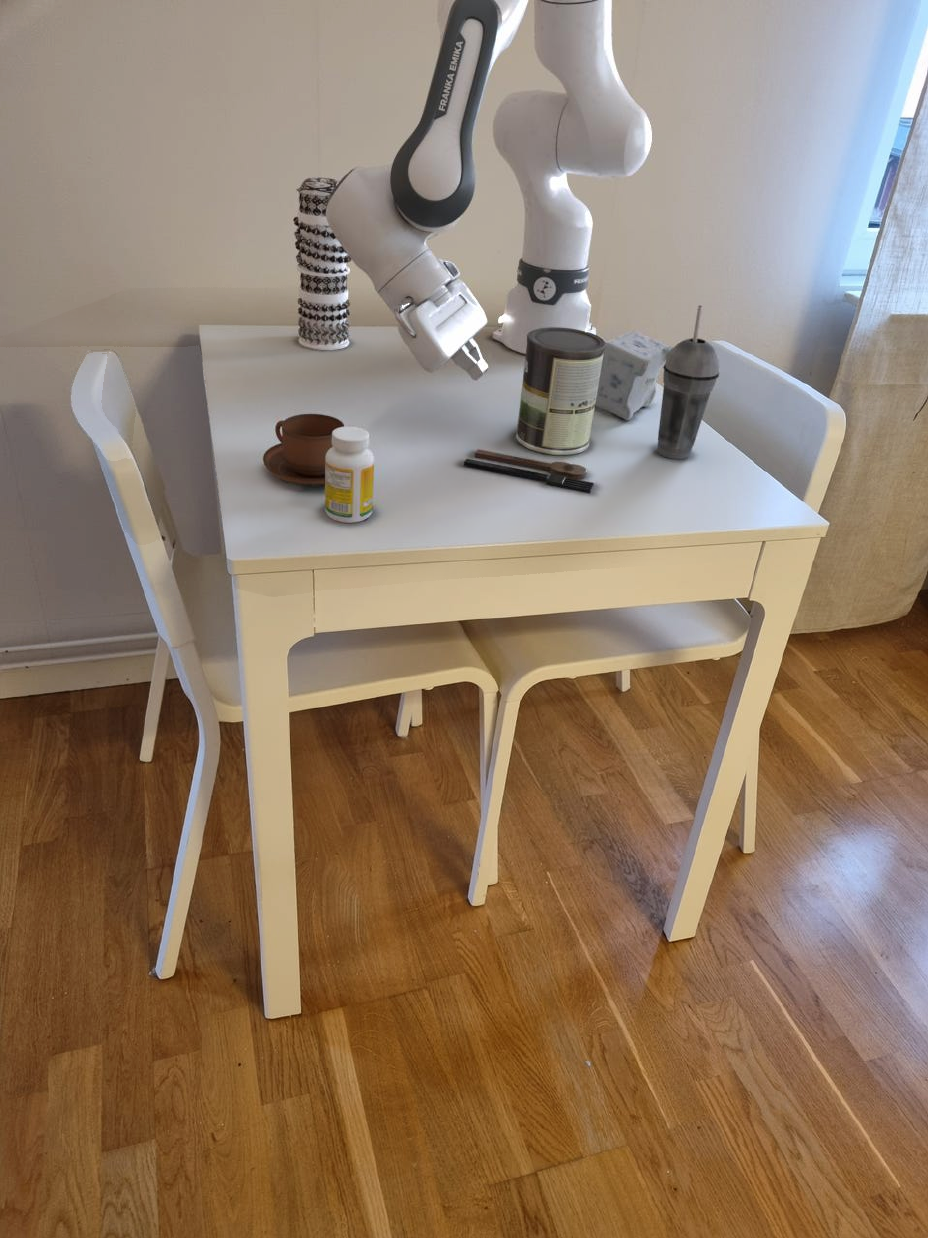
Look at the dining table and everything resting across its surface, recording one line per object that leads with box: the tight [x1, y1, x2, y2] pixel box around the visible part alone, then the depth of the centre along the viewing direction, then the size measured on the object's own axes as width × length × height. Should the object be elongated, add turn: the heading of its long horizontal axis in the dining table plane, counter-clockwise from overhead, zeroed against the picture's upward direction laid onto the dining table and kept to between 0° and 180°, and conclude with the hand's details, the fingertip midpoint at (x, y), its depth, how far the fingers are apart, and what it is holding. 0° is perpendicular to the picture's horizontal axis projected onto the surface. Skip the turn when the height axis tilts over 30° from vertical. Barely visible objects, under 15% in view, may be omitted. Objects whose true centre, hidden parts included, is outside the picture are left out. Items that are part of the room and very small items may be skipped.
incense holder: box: [595, 329, 674, 421], centre depth 139 cm, size 10×8×10 cm
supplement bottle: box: [324, 426, 375, 524], centre depth 103 cm, size 5×5×10 cm
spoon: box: [474, 448, 588, 480], centre depth 120 cm, size 3×15×1 cm, turn 73°
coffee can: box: [515, 327, 607, 456], centre depth 124 cm, size 10×10×14 cm
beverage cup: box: [656, 305, 720, 460], centre depth 123 cm, size 7×7×20 cm
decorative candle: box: [292, 177, 352, 351], centre depth 150 cm, size 9×9×25 cm
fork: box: [463, 458, 594, 494], centre depth 118 cm, size 2×17×1 cm, turn 73°
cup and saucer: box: [262, 413, 345, 486], centre depth 112 cm, size 12×12×6 cm
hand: (482, 374), depth 126 cm, fingers closed
